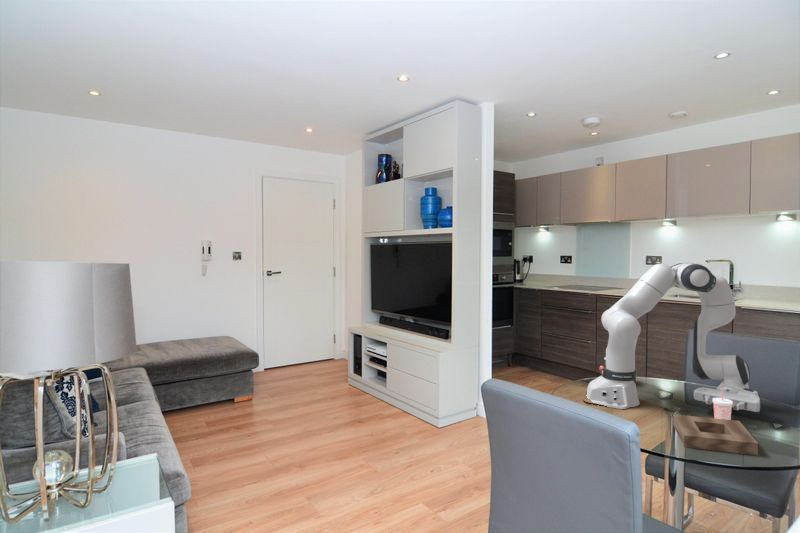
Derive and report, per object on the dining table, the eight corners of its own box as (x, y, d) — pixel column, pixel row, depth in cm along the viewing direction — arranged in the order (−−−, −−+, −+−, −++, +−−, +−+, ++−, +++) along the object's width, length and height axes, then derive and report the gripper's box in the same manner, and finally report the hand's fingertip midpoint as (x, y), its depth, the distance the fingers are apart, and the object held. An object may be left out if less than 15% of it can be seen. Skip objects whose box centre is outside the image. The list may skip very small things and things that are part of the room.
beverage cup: (708, 422, 164) (708, 386, 163) (718, 419, 166) (718, 383, 165) (726, 429, 158) (726, 391, 157) (736, 425, 160) (736, 388, 159)
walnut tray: (684, 446, 146) (684, 435, 146) (673, 424, 163) (673, 414, 163) (758, 455, 139) (758, 443, 139) (739, 431, 155) (739, 420, 155)
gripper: (697, 381, 178) (688, 390, 168) (763, 392, 163) (757, 403, 153) (697, 396, 178) (688, 406, 169) (762, 409, 163) (756, 420, 154)
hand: (721, 405), depth 161 cm, fingers open, 7 cm apart
